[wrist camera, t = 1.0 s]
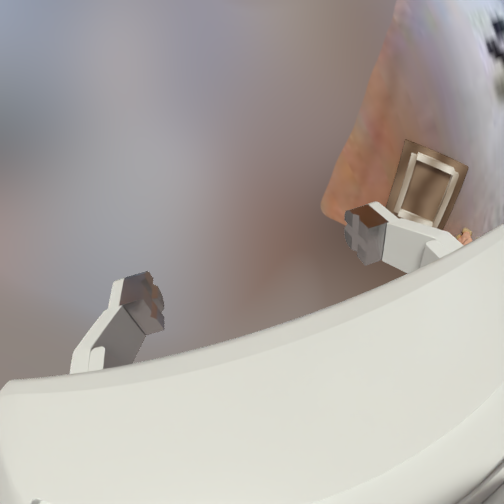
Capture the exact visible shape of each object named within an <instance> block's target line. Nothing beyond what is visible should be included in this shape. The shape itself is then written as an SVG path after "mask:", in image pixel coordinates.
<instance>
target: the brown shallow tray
mask: <svg viewBox="0 0 504 504" xmlns="http://www.w3.org/2000/svg"><path fill="white" fill-rule="evenodd" d="M467 171H468V166H466V165H464V164H462V163H460V162H458V161H456V160H454V159H452V158H450V157H448V156H445V155H443V154H441V153H439V152H436V151H434V150H431V149H429V148H427V147H424V146H422V145H419V144H417V143H414V142H411V141H409V140H406V139H405V143H404V147H403V151H402V154H401V158H400V162H399V166H398V169H397V173H396V176H395V179H394V183H393V186H392V189H391V193H390V196H389V199H388V202H387V205H386V209H387V210H389V211H390V212H391V213H392V214H394V215H395V216H396V217H397V218H399V219H400V218H403V219H407V220H410V221H414V222H417V223H421V224H424V225H427V226H430V227H434V228H437V229H440V230H443V228H444V226H445V224H446V222H447V219H448V217H449V215H450V213H451V211H452V208H453V206H454V204H455V201H456V199H457V197H458V194H459V192H460V189H461V187H462V184H463V181H464V179H465V176H466V173H467Z"/></svg>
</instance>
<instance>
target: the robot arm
mask: <svg viewBox="0 0 504 504" xmlns="http://www.w3.org/2000/svg"><path fill="white" fill-rule="evenodd" d="M345 221H346V222H347V223H348V224H347V225H346V227H345V239H346V242H347V244H348V246H349V247H350V248H351V249H352V250H354V251H357V256H358V258H360V260H361V261H362V262H363V263H364V265H368V264H371V263H374V262H377V261H380V260H382V261H384V262H386V263H388V264H390V265H392V266H394V267H396V268H398V269H400V270H402V271H404V272H406V273H408V274H406V275H404V276H402V277H400V278H398V279H395V280H393V281H391V282H388V283H386V284H384V285H382V286H379V287H377V288H375V289H372V290H370V291H367V292H365V293H363V294H360V295H358V296H355V297H353V298H350V299H348V300H345V301H343V302H340V303H337V304H335V305H332V306H330V307H327V308H324V309H322V310H319V311H316V312H313V313H311V314H308V315H305V316H302V317H299V318H296V319H294V320H291V321H288V322H285V323H282V324H279V325H276V326H273V327H270V328H267V329H264V330H260V331H257V332H254V333H251V334H248V335H244V336H241V337H238V338H235V339H231V340H228V341H224V342H220V343H217V344H213V345H209V346H206V347H202V348H198V349H194V350H191V351H186V352H182V353H179V354H174V355H170V356H166V357H161V358H157V359H152V360H148V361H143V362H138V363H133V361H134V359H135V357H136V355H137V353H138V351H139V349H140V347H141V345H142V343H143V341H144V339H145V337H146V336H145V335H149V334H152V333H155V332H159V331H162V330H164V316H163V314H162V311H163V310H164V301H163V296H162V294H161V292H160V290H159V288H158V286H156V285H154V284H153V277H152V276H151V274H150V273H149V272H148V271H146V272H142V273H139V274H135V275H132V276H129V277H126V278H122V279H119V280H116V281H115V282H114V283H113V286H112V291H111V296H110V301H109V305H108V310H105V311H104V312H103V313H102V314H101V316H100V317H99V318H98V320H97V321H96V322H95V323H94V325H93V326H92V327H91V329H90V330H89V331H88V333H87V334H86V335H85V337H84V338H83V339H82V341H81V342H80V343H79V345H78V346H77V347H76V349H75V350H74V352H73V357H72V362H71V368H70V374H67V375H59V376H52V377H42V378H32V379H15V380H10V381H8V382H7V383H6V385H5V386H4V387H3V388H2V389H1V391H0V504H504V223H502V224H501V225H499V226H498V227H496V228H494V229H493V230H491V231H489V232H487V233H486V234H484V235H482V236H480V237H479V238H477V239H475V240H473V241H472V242H470V243H468V244H466V245H462V244H461V243H460V242H459V241H458V240H457V239H456V238H455V237H453V236H452V235H451V234H450V233H449V232H446V231H443V230H440V229H437V228H434V227H430V226H427V225H424V224H421V223H417V222H414V221H410V220H407V219H403V218H400V219H399V218H397V217H396V216H395V215H394V214H392V213H391V212H390V211H389V210H387V209H386V208H385V207H384V206H382V205H381V204H380V203H379V202H372V203H369V204H366V205H364V206H360V207H357V208H354V209H350V210H347V211H346V212H345Z"/></svg>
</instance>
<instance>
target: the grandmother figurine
mask: <svg viewBox="0 0 504 504" xmlns="http://www.w3.org/2000/svg"><path fill="white" fill-rule="evenodd" d="M462 234H463V235H462V236H461V235H457V236H456V239H457V240H458V241H459V242H460V243H461V244H462V245H466V244H468V243H470V242H472V239H471V235H472V232H471V231H470V230H468V229H467V228H464V229H463V230H462ZM477 238H479V237H476V239H477Z"/></svg>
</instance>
